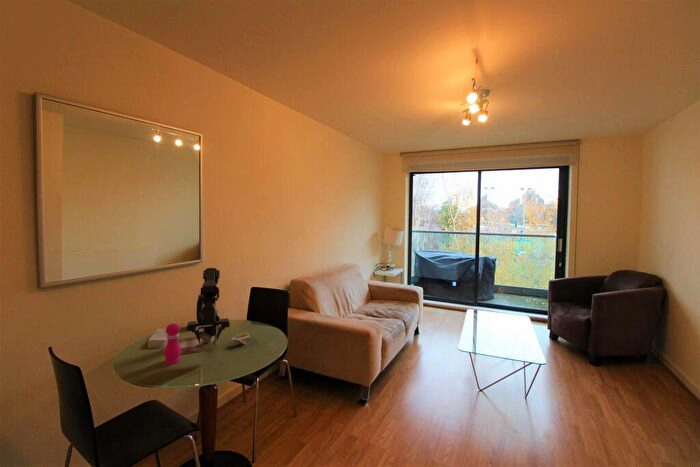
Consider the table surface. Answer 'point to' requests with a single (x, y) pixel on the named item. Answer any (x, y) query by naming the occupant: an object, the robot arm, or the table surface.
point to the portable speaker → (199, 309)
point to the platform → (240, 338)
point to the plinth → (189, 345)
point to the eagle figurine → (207, 338)
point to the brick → (158, 339)
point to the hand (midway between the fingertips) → (208, 341)
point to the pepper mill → (172, 344)
